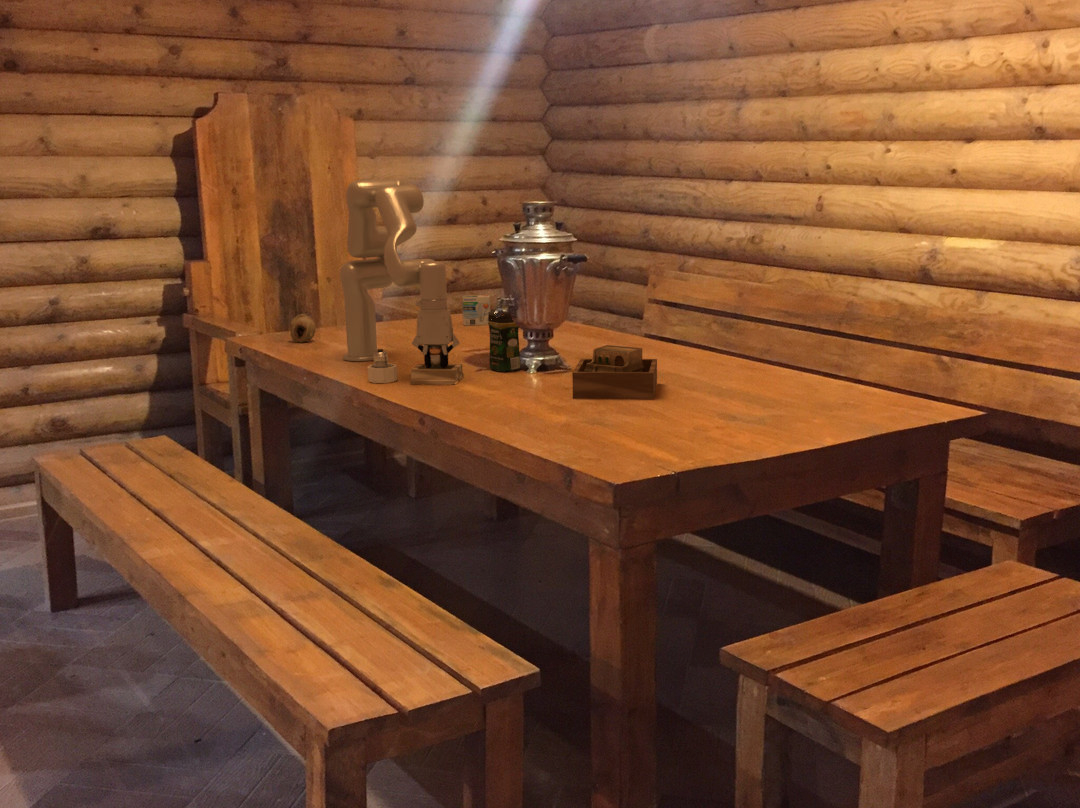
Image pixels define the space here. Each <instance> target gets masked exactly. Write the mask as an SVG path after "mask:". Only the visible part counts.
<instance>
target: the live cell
mask: <svg viewBox="0 0 1080 808" xmlns="http://www.w3.org/2000/svg"><path fill="white" fill-rule="evenodd" d="M442 355H443V350H442V346H441V345H429V361H430V369H443V368H442Z"/></svg>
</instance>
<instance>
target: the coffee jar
mask: <svg viewBox="0 0 1080 808" xmlns="http://www.w3.org/2000/svg"><path fill="white" fill-rule="evenodd" d="M496 309H497V308H493V309H492V308H491V309H490V312H489V314H488V324H489V325H488V329H489V358H488V359H489V363H488V365H489V368H490V370H493V371H496V372H500V371H503V372H502V373H505V371H508V372H510V371H514V372H516V371H518V370H520V369H521V368H520V364H521V355H520V352H521V351H520V342H519V341H520V340H519V338H520V337H519V327H520V325H519V326H517V325H516V324H515V322H514V321H513V320H512V317H511V315H510V314H509V313H506V314H504V315H503V316H501V317H498V318H496V317H495V314H496V313H495V314H494V312H495V310H496ZM491 319H492V320H491ZM515 370H516V371H515Z"/></svg>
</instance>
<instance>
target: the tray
mask: <svg viewBox="0 0 1080 808" xmlns="http://www.w3.org/2000/svg"><path fill="white" fill-rule="evenodd" d="M463 371H464V370H463V363H448V365H447V367H446V368H445V369H430V368H428V369H427V368H426V365H425V363H418V364H417V365H415V366H414V367H413V368H412V369H410V380H409V382H410V383H409V385H410V384H428V385H427V386H429V385H430V386H440V385H441V386H445V385H446V384H455V383H456V382H457V381H458V382H460V380H462V379H463V378H464V372H463ZM462 377H463V378H462ZM461 378H462V379H461ZM458 382H457V383H458ZM457 383H456V384H457ZM433 384H434V385H433ZM456 384H455V385H456ZM446 386H447V385H446Z"/></svg>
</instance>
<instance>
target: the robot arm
mask: <svg viewBox="0 0 1080 808" xmlns="http://www.w3.org/2000/svg"><path fill="white" fill-rule="evenodd" d="M345 200H346V205H347V210H348V219H347V220H348V223H347V235H346V250H347V253H348V254H349V255H350V256H351V257H353V258H358V259H355V260H349V261H347V262H344V263H343V264H342V265H341V267H340V269H339V279H340V280H339V281H340V283H341V288H342V292H343V299H344V300H343V301H344V302H343V303H344V312H345V313H344V314H345V315H344V316H345V330H346V331H345V333H346V345H347V346H346V347H347V348H346V349H347V353H345V354H343V356H342V359H343V360H345V361H349V362H368V361H369V362H370V361H374V356H373V355H374V353H373V352H374V351H378V350H377V349H378V341H377V340H378V339H377V338H378V337H377V324H376V323H377V322H376V321H377V320H376V306H375V305H376V304H375V301H374V299H373V298H372V296H371V295H370V294H369V292H368V290H378V289H385V288H388V287H390V286H392V284H394V285H396V286H397V287H402V288H403V287H414V286H419V290H420V291H419V292H420V293H419V295H420V299H419V300H416V301H415V306H418V307H419V308H420V309H418V310H417V315H416V316H417V317H416V335H415V337H414V338H413V340H412V342H411V344H412V346H414V347H415V348H416V349H418V350H419V351H420V352H421V354H422V355H423V358H424V359H423V360H424V364H425V365H426V368H427V369H428V368H430V361H429V345H441V346H442V350H443V355H442V368H443V369H445V368H446V367H447V365H448V364H449V353H451V352H452V350H453V349H455V347H457V346H459V345H460V341H459V339H458V338H457V336H456V335H455V334H454V326H453V320H452V315H451V310H450V308H448V298H447V297H448V293H447V270H446V268H447V267H446V265H445V263H444V262H442V261H439V260H434V259H432V258H419V259H418V258H416V259H415V258H414V259H405V260H404V259H403V260H402V259H401V258H400V256H399V253H398V250H397V249H398V246H400V245H401V244H403V243H406V242H407V241H409V240H410V239H411V238H412V237H413V236H414V235H415V234H416V233H417V224H416V222H415V219H414V217H413V215H412V214H416V213H420V212H421V211H422V210H423V207H424V204H425V203H424V201H425V200H424V196H423V193H422V191H421V190H420V188H419V187H418V186H417V185H415V184H413V183H410V182H408V181H405V180H402V179H401V178H400V179H399V178H380V179H379V178H378V179H373V178H371V179H358V180H354V181H351V182H350V183H349V184H348V186H347V188H346V192H345ZM374 208H377V209H378V212H379V214H380V217H381V219H382V221H383V224H384V225H379V226H376V223H377V215H376V214H377V213H376V211H375V209H374ZM363 258H365V259H363ZM366 258H368V259H366ZM370 258H371V259H370ZM449 344H450V345H449Z"/></svg>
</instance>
